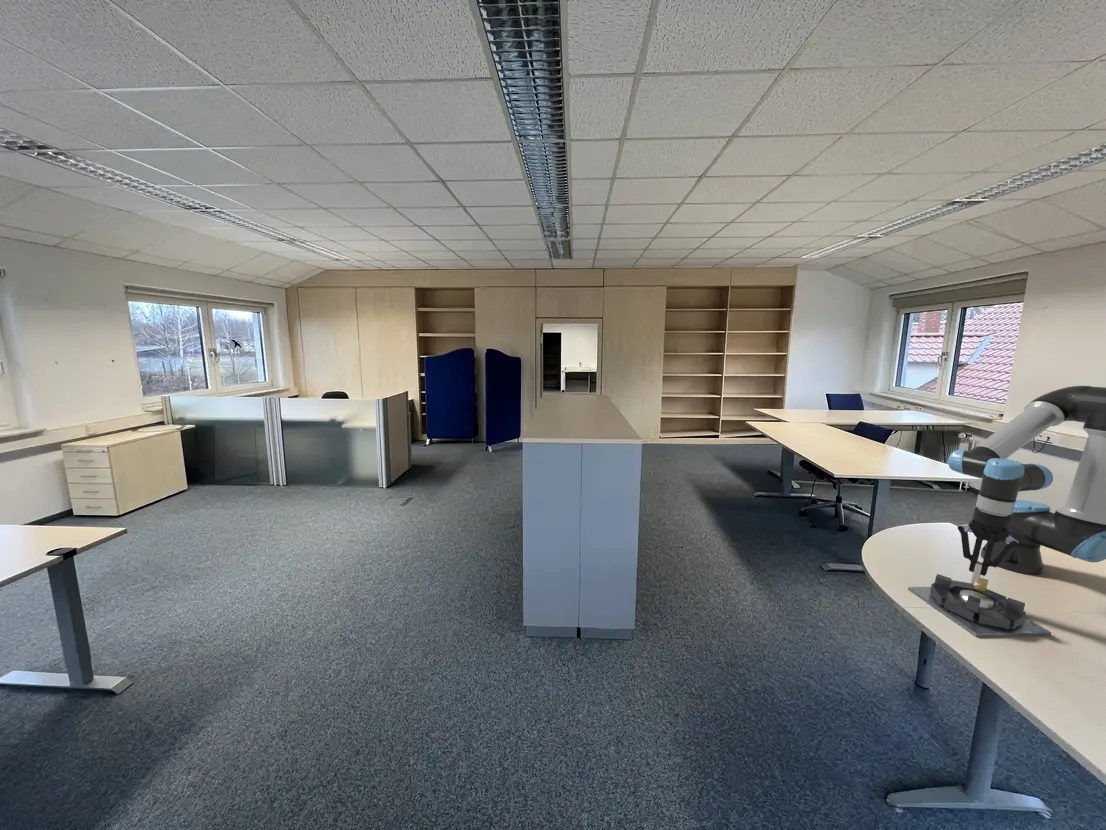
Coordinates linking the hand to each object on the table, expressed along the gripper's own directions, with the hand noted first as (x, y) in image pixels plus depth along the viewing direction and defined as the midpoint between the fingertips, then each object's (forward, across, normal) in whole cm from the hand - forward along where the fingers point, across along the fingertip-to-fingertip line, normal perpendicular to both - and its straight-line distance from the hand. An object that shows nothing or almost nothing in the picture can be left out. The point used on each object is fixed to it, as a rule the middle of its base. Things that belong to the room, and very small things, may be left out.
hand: (974, 582), depth 127 cm
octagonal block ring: (+4, -2, +7) cm, 9 cm away
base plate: (+6, -2, +7) cm, 9 cm away
